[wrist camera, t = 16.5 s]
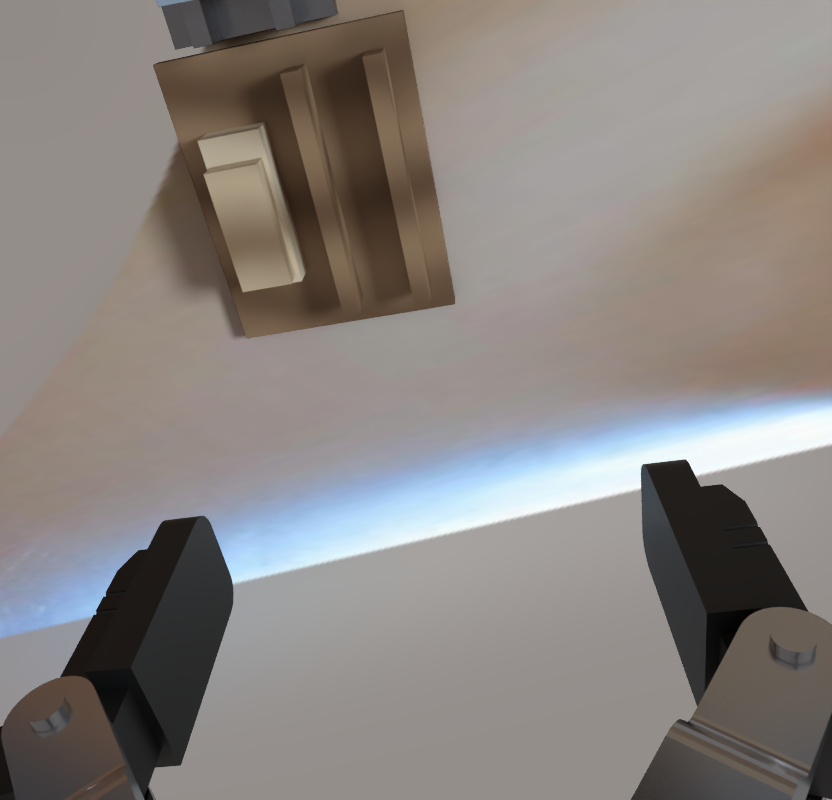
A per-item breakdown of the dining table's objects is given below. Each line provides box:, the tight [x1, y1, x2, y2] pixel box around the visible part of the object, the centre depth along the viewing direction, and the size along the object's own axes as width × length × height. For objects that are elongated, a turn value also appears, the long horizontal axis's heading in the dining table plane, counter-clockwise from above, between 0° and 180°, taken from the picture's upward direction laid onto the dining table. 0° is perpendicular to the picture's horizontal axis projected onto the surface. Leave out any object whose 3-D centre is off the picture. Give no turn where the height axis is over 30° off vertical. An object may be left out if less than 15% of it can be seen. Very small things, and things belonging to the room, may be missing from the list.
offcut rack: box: [153, 10, 455, 338], centre depth 44 cm, size 17×14×4 cm
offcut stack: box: [198, 122, 307, 292], centre depth 44 cm, size 9×4×4 cm, turn 11°
